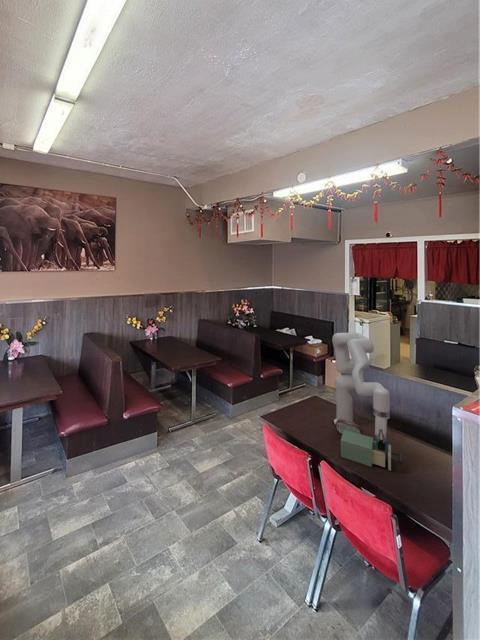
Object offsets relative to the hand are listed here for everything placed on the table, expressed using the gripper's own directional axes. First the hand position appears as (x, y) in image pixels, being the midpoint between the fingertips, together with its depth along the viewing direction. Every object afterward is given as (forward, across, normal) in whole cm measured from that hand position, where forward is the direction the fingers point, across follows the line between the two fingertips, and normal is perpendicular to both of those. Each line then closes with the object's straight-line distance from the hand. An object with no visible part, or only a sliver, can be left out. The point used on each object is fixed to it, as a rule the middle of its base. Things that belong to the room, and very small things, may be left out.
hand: (381, 446), depth 160 cm
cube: (0, 0, 0) cm, 0 cm away
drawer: (+8, 0, 0) cm, 8 cm away
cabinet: (+9, 0, -11) cm, 14 cm away
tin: (+9, -18, -17) cm, 26 cm away
